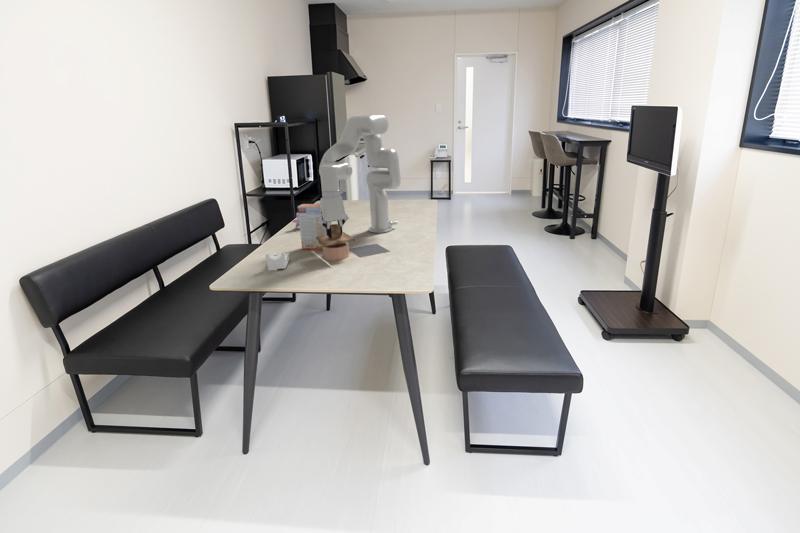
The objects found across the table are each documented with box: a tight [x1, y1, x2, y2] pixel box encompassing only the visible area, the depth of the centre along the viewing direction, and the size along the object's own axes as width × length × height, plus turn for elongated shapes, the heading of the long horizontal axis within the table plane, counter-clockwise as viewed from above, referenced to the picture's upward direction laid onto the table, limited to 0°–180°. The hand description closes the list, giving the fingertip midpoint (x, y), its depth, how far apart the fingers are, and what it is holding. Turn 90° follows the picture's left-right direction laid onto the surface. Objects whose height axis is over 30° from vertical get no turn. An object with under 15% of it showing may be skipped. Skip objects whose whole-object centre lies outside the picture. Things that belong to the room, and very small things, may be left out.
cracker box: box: [297, 203, 332, 251], centre depth 217 cm, size 14×6×21 cm, turn 71°
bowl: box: [322, 242, 350, 261], centre depth 205 cm, size 11×11×6 cm
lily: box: [291, 211, 300, 228], centre depth 256 cm, size 12×12×10 cm
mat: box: [349, 243, 391, 258], centre depth 213 cm, size 15×15×1 cm
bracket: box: [265, 250, 290, 271], centre depth 198 cm, size 13×7×8 cm, turn 5°
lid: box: [316, 223, 356, 246], centre depth 203 cm, size 13×13×6 cm
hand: (334, 235), depth 203 cm, fingers closed on lid, 4 cm apart
